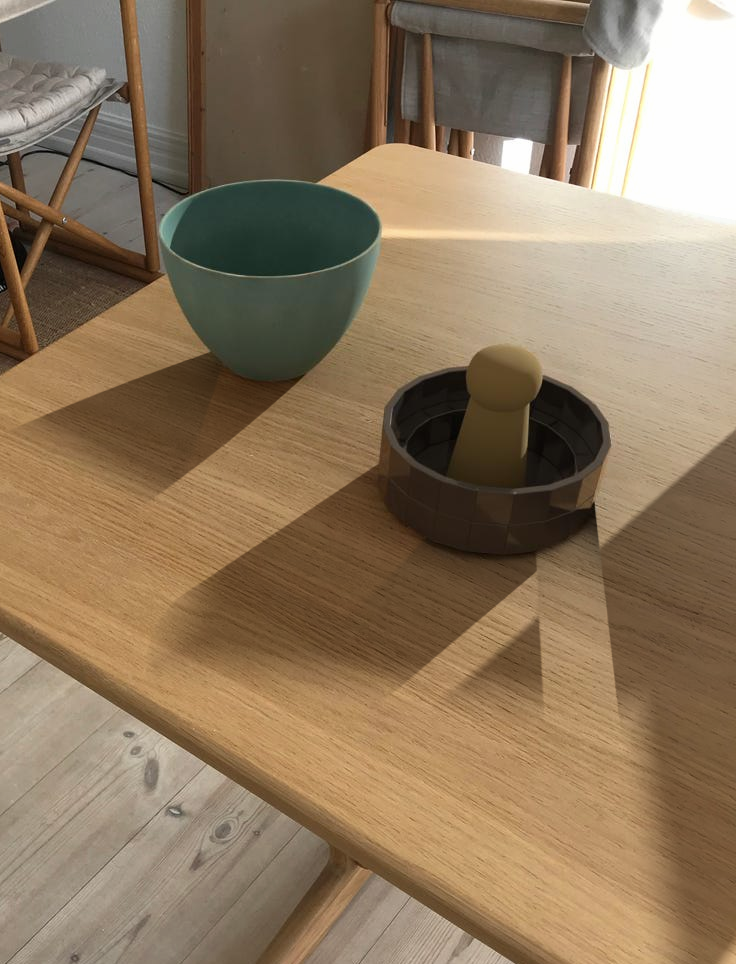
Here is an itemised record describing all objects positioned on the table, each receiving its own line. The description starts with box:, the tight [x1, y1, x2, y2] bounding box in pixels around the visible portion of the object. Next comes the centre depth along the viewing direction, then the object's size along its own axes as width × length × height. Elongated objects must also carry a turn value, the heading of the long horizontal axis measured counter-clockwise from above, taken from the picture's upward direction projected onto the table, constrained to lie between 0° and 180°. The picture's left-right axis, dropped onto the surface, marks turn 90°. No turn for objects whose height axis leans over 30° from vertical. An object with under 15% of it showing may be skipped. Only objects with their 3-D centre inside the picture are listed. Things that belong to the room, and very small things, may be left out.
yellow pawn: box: [446, 343, 543, 489], centre depth 75 cm, size 6×6×11 cm
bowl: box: [376, 365, 613, 556], centre depth 77 cm, size 16×16×6 cm
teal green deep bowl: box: [158, 179, 383, 383], centre depth 89 cm, size 18×18×12 cm
